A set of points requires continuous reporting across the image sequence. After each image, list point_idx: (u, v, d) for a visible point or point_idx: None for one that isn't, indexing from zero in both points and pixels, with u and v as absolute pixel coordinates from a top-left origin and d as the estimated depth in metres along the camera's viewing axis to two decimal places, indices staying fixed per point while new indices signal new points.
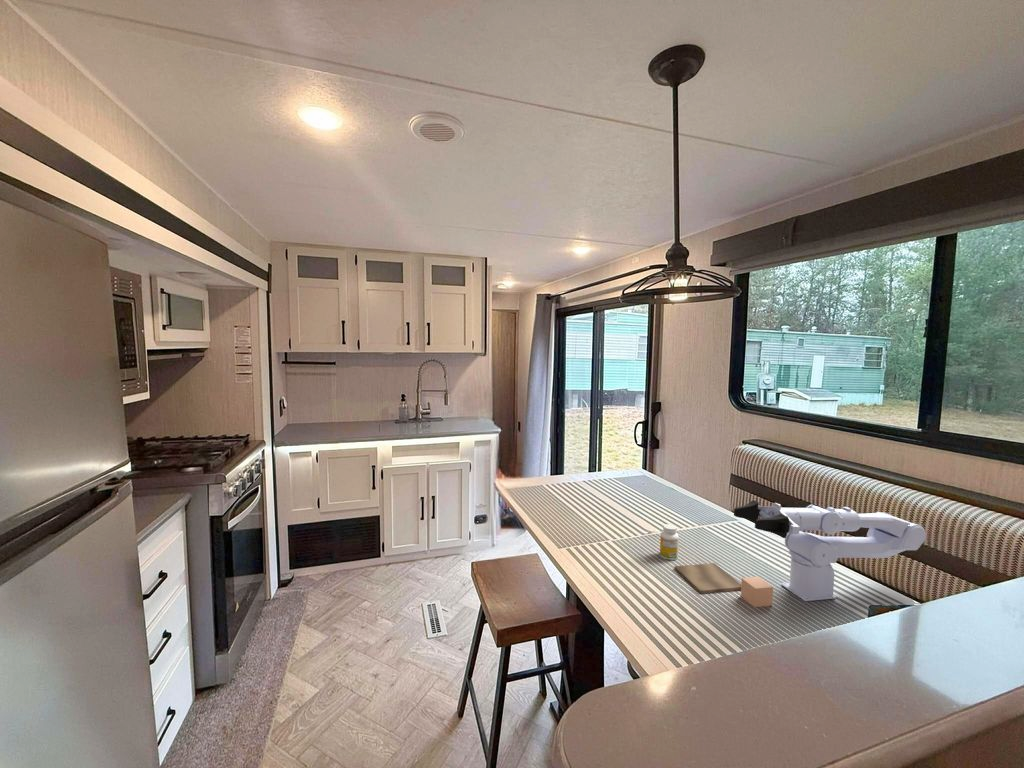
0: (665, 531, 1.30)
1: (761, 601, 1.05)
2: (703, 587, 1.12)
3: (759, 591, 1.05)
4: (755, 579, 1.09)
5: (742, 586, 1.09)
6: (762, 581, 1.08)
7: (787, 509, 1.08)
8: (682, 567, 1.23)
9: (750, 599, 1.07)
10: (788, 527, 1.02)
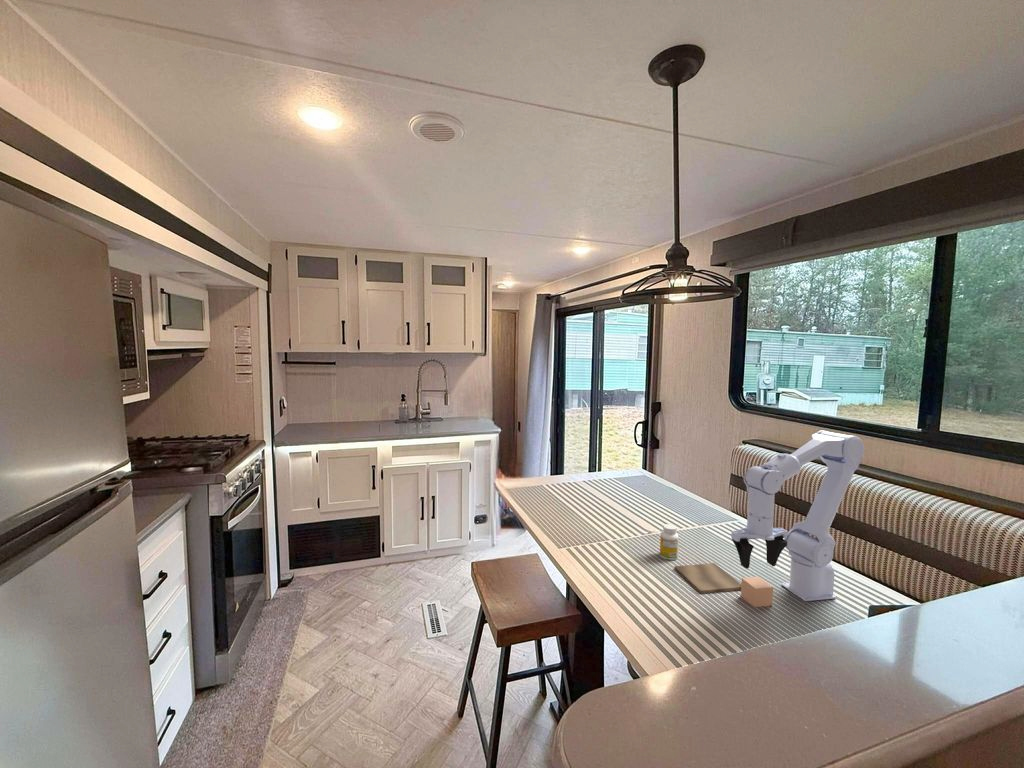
0: (665, 531, 1.30)
1: (761, 601, 1.05)
2: (703, 587, 1.12)
3: (759, 591, 1.05)
4: (755, 579, 1.09)
5: (742, 586, 1.09)
6: (762, 581, 1.08)
7: (770, 526, 1.04)
8: (682, 567, 1.23)
9: (750, 599, 1.07)
10: None
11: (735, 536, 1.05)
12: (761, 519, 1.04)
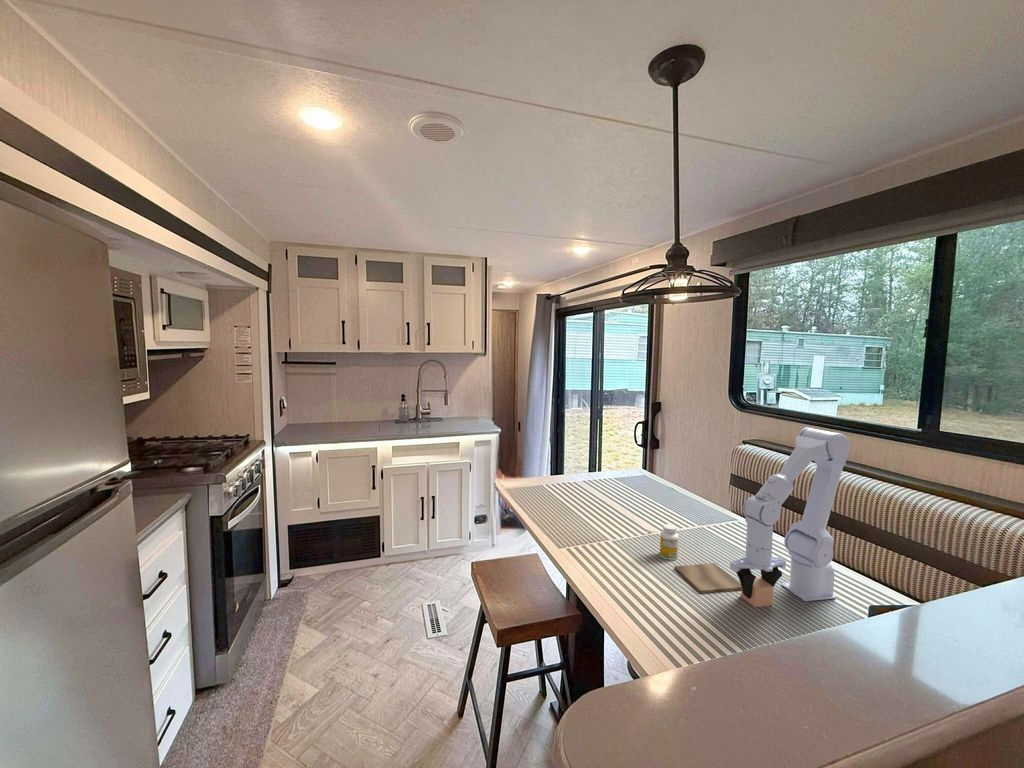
0: (665, 531, 1.30)
1: (761, 601, 1.05)
2: (703, 587, 1.12)
3: (759, 591, 1.05)
4: (755, 579, 1.09)
5: None
6: (762, 581, 1.08)
7: (768, 557, 1.04)
8: (682, 567, 1.23)
9: (750, 599, 1.07)
10: None
11: (734, 566, 1.05)
12: (759, 550, 1.04)
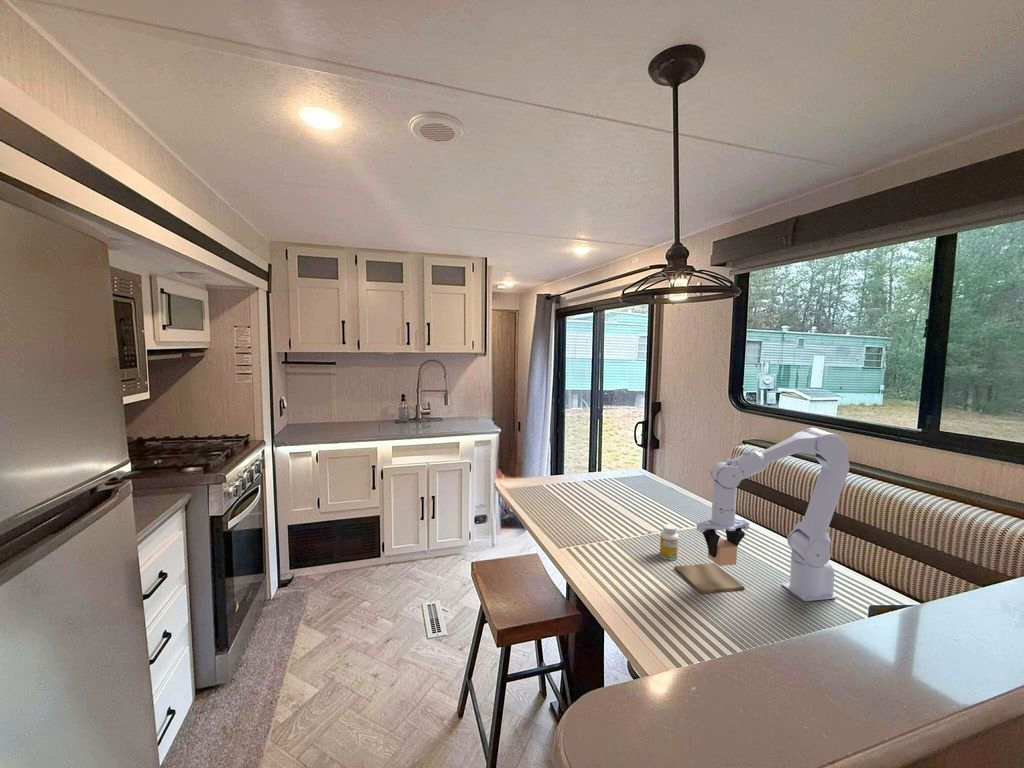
0: (665, 531, 1.30)
1: (725, 560, 1.12)
2: (703, 587, 1.12)
3: (723, 550, 1.12)
4: (721, 541, 1.16)
5: None
6: (727, 542, 1.15)
7: (732, 518, 1.11)
8: (682, 567, 1.23)
9: (716, 558, 1.13)
10: None
11: (700, 527, 1.12)
12: (723, 511, 1.11)
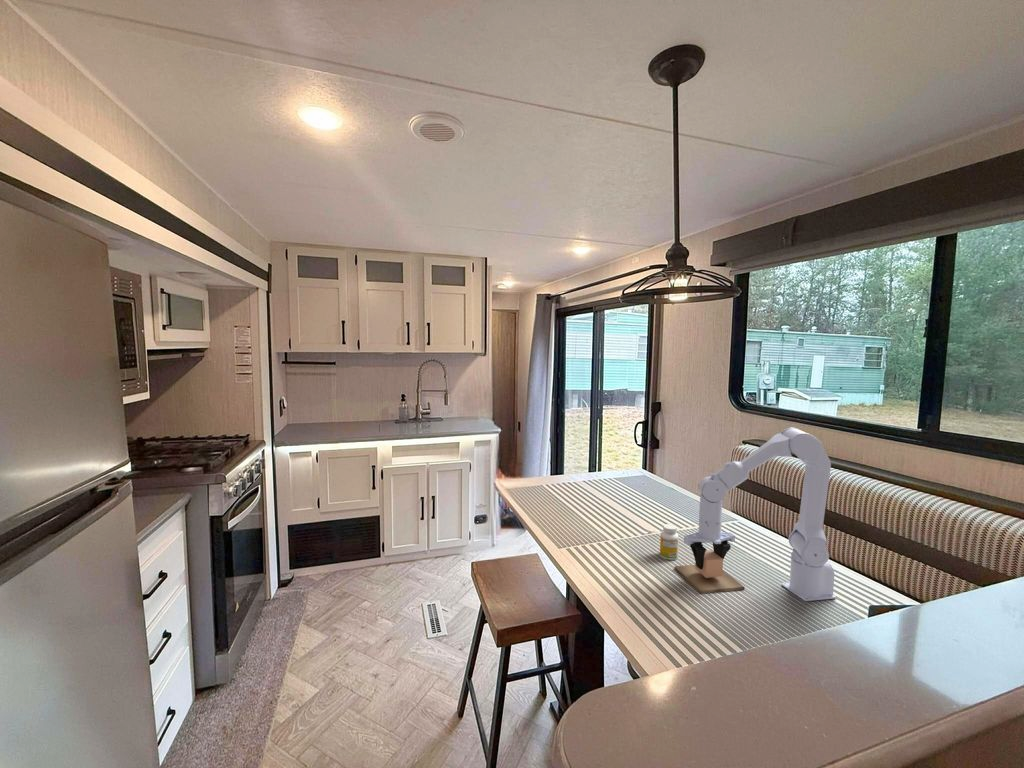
0: (665, 531, 1.30)
1: (711, 572, 1.15)
2: (703, 587, 1.12)
3: (710, 563, 1.15)
4: (708, 553, 1.19)
5: None
6: (714, 554, 1.18)
7: (718, 531, 1.15)
8: (682, 567, 1.23)
9: (702, 570, 1.17)
10: None
11: (687, 540, 1.16)
12: (709, 525, 1.15)
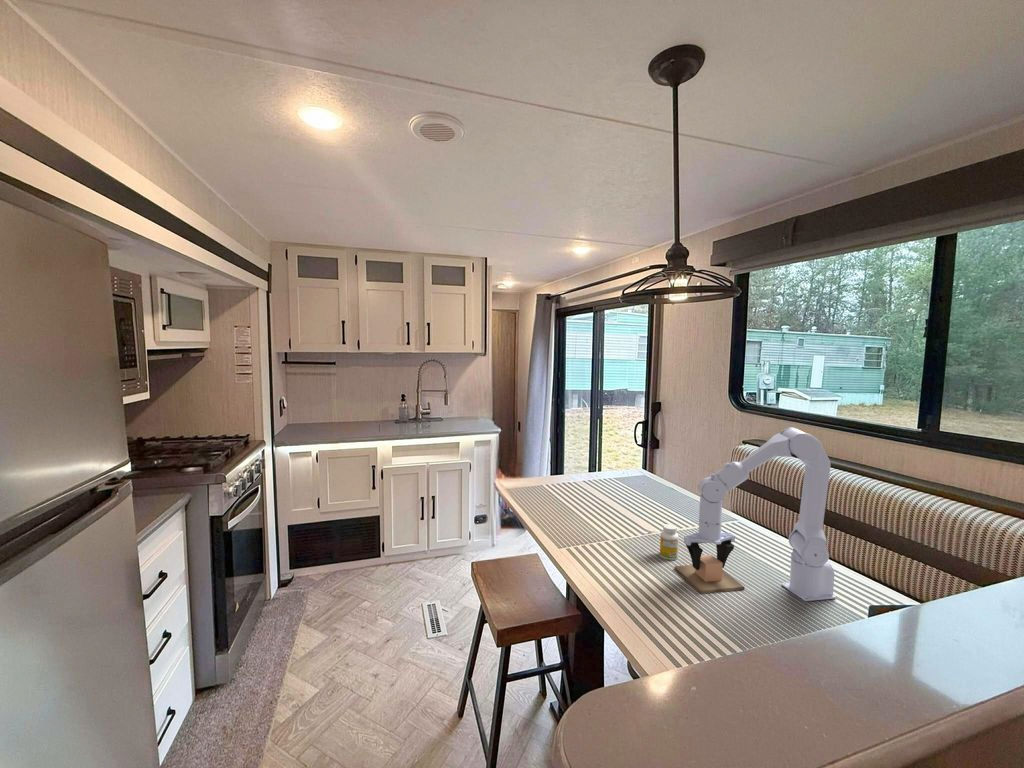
0: (665, 531, 1.30)
1: (711, 576, 1.15)
2: (703, 587, 1.12)
3: (709, 567, 1.15)
4: (708, 557, 1.19)
5: None
6: (713, 558, 1.18)
7: (718, 531, 1.15)
8: (682, 567, 1.23)
9: (702, 574, 1.17)
10: None
11: (687, 540, 1.16)
12: (709, 525, 1.15)
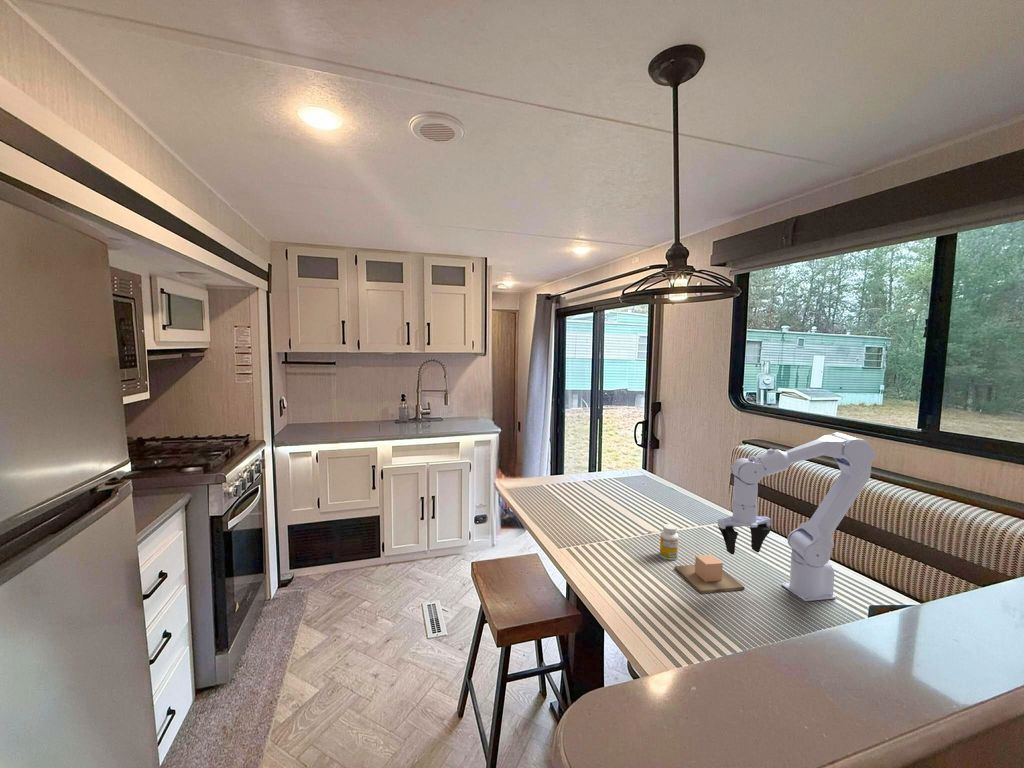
0: (665, 531, 1.30)
1: (711, 576, 1.15)
2: (703, 587, 1.12)
3: (709, 567, 1.15)
4: (708, 557, 1.19)
5: (696, 563, 1.20)
6: (713, 558, 1.18)
7: (753, 514, 1.11)
8: (682, 567, 1.23)
9: (702, 574, 1.17)
10: None
11: (721, 524, 1.12)
12: (745, 508, 1.10)
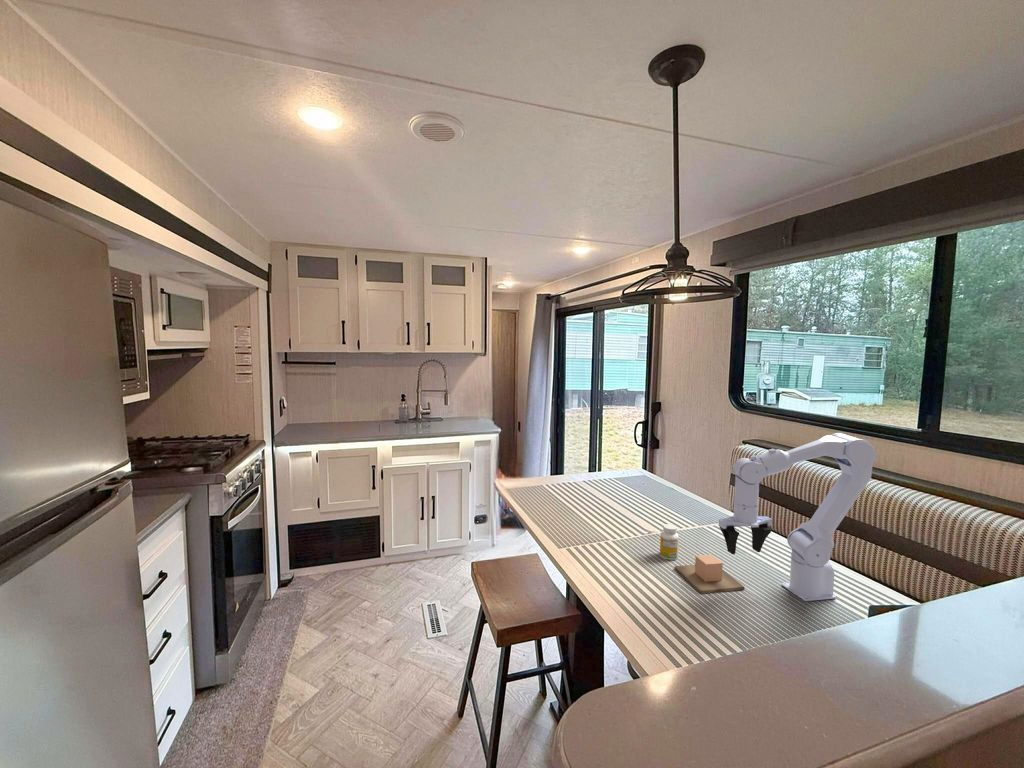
0: (665, 531, 1.30)
1: (711, 576, 1.15)
2: (703, 587, 1.12)
3: (709, 567, 1.15)
4: (708, 557, 1.19)
5: (696, 563, 1.20)
6: (713, 558, 1.18)
7: (755, 514, 1.10)
8: (682, 567, 1.23)
9: (702, 574, 1.17)
10: None
11: (722, 523, 1.11)
12: (746, 507, 1.10)
